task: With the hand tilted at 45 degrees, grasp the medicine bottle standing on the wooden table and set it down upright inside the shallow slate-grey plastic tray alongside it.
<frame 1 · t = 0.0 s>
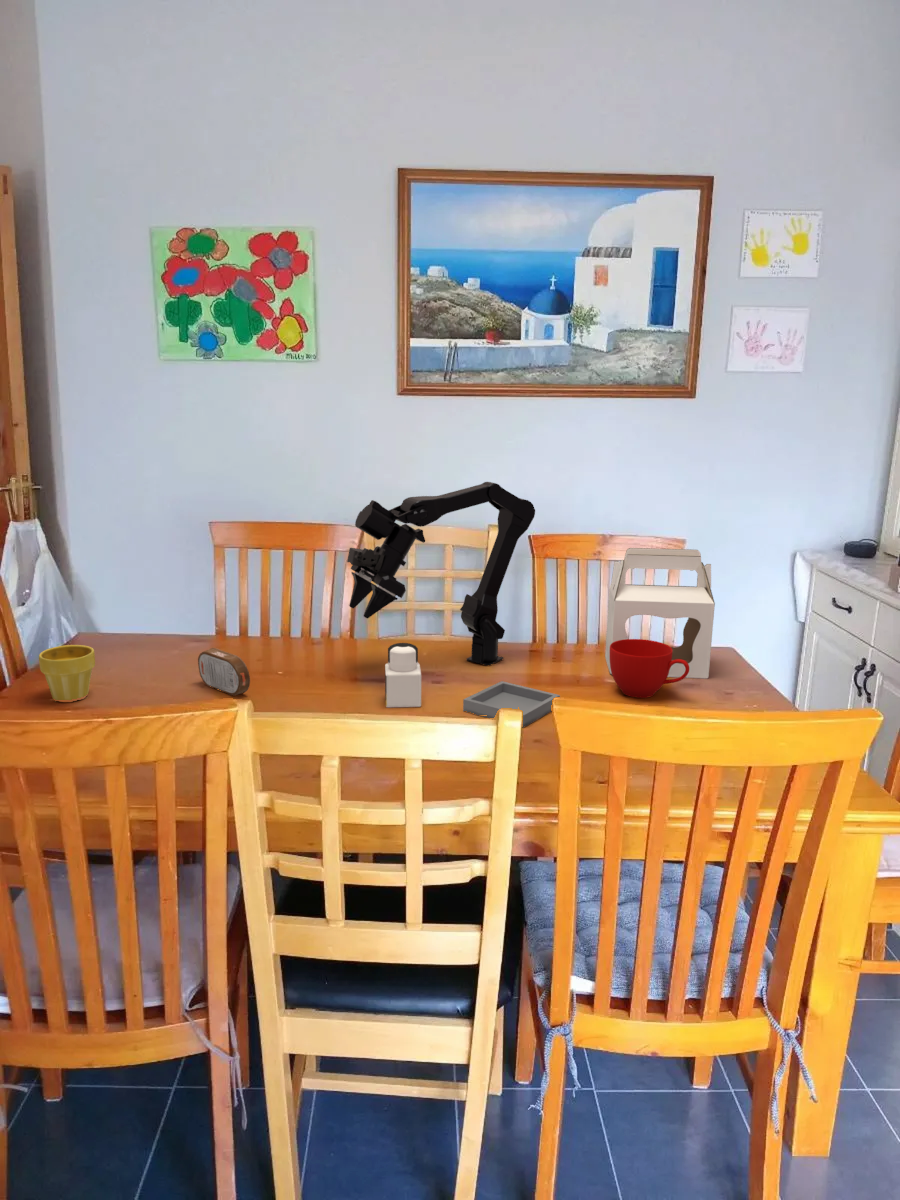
hand: (358, 612, 191), 15 cm above the table, tool tilted 35°, fingers open, 9 cm apart
plant pot: (71, 698, 181), on the table
gable box: (654, 668, 204), on the table
tin: (223, 691, 186), on the table
slate tray: (511, 709, 177), on the table
medicine bottle: (402, 702, 181), on the table
ceramic cup: (646, 695, 187), on the table
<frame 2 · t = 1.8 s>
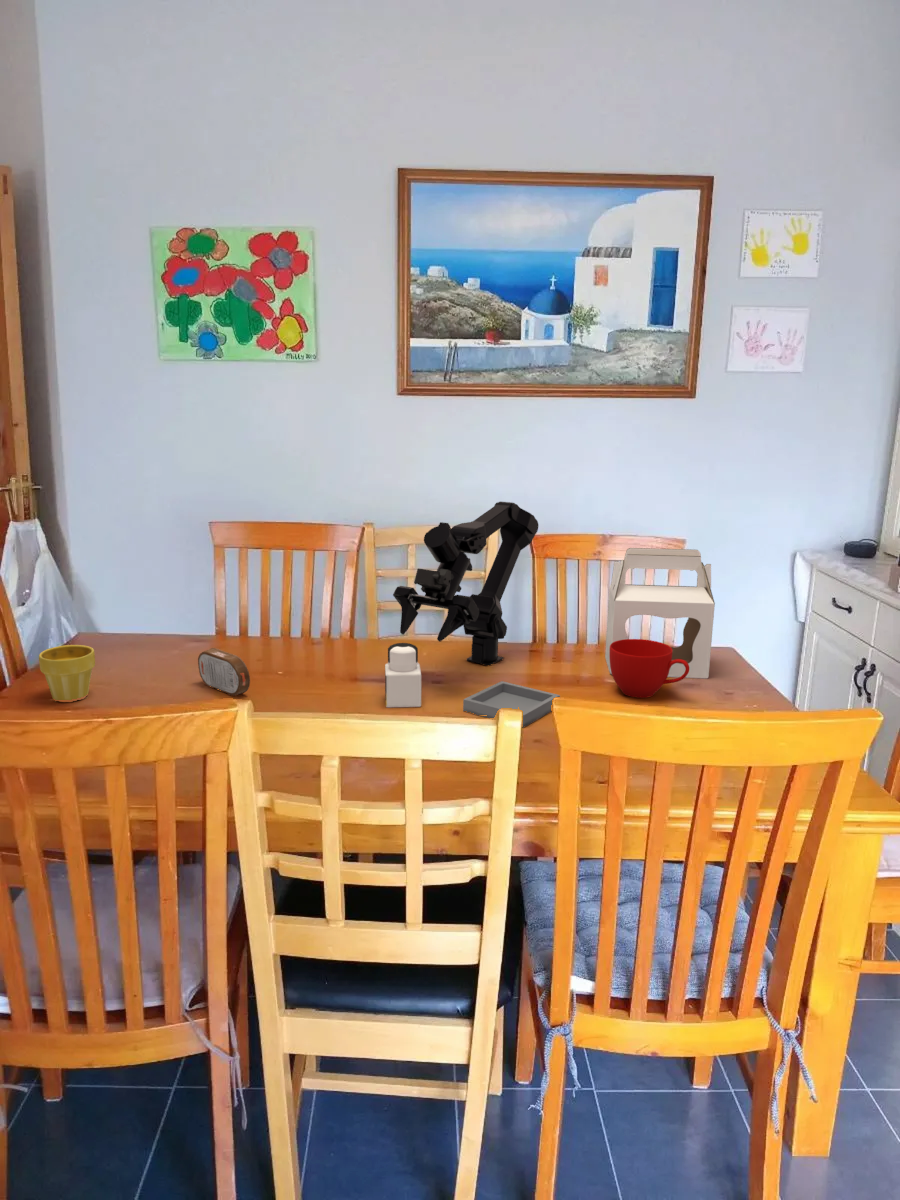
hand: (419, 636, 182), 12 cm above the table, tool tilted 45°, fingers open, 9 cm apart
nothing on the table moved.
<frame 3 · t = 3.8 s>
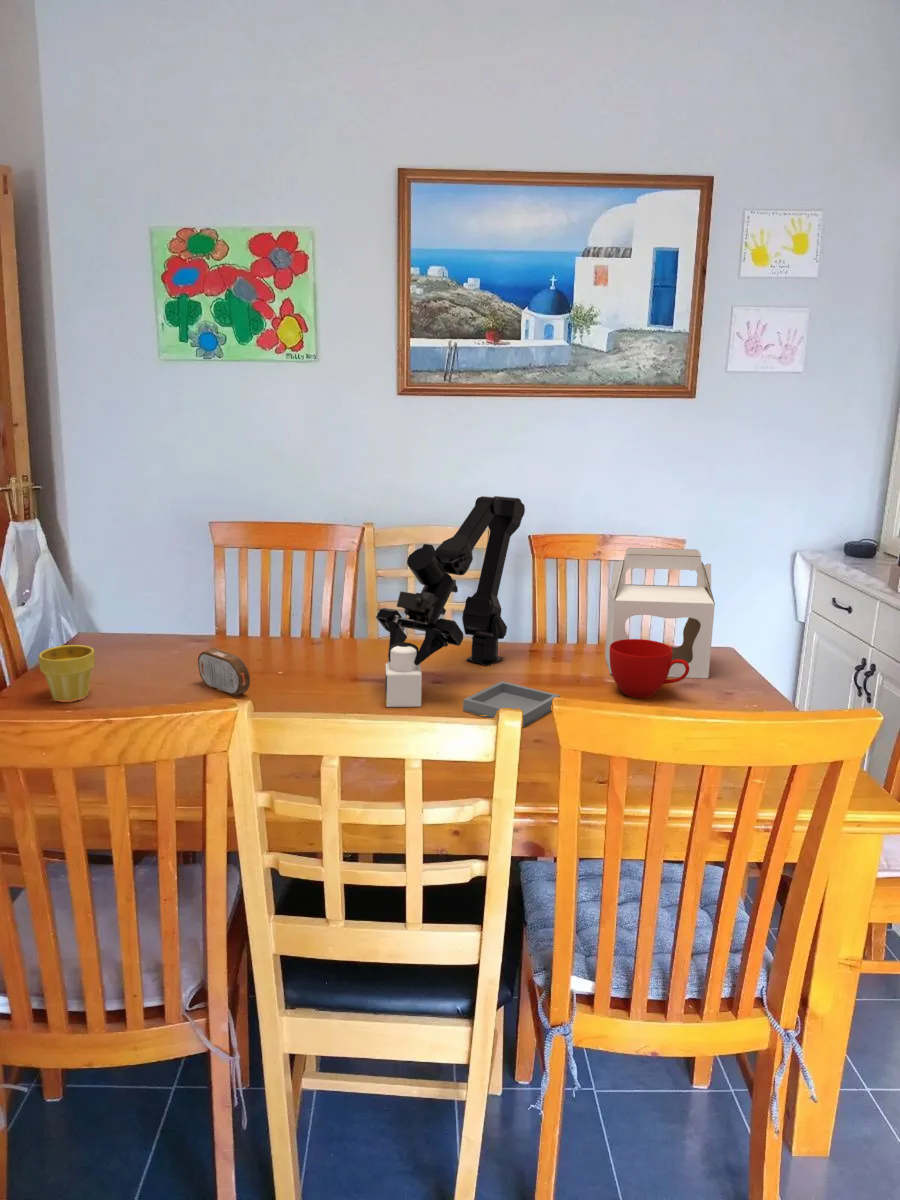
hand: (402, 661, 178), 9 cm above the table, tool tilted 45°, fingers closed on medicine bottle, 6 cm apart
medicine bottle: (402, 701, 181), on the table, touching gripper
everything else where it was.
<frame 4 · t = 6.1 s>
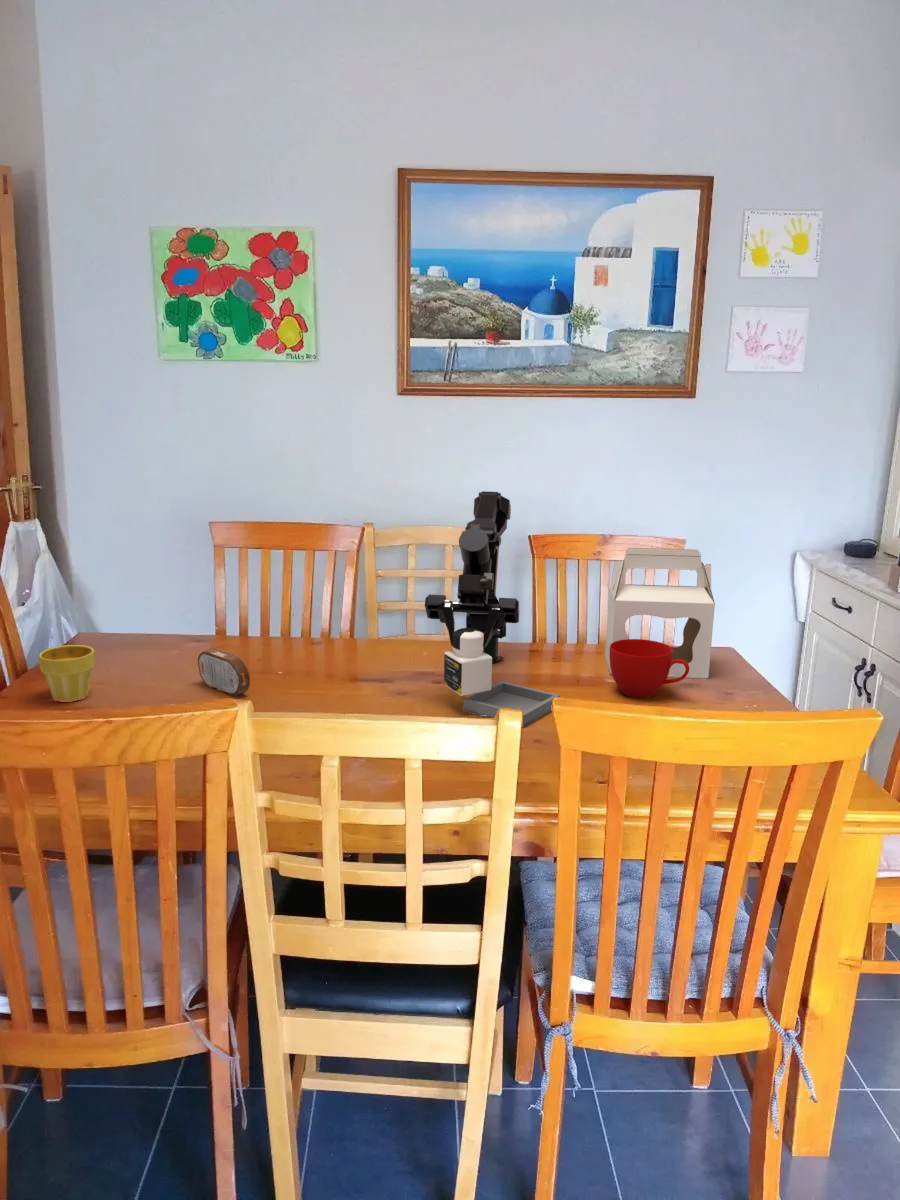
hand: (468, 645, 174), 13 cm above the table, tool tilted 45°, fingers closed on medicine bottle, 6 cm apart
medicine bottle: (467, 688, 176), point 4 cm above the table, touching gripper
everything else where it was.
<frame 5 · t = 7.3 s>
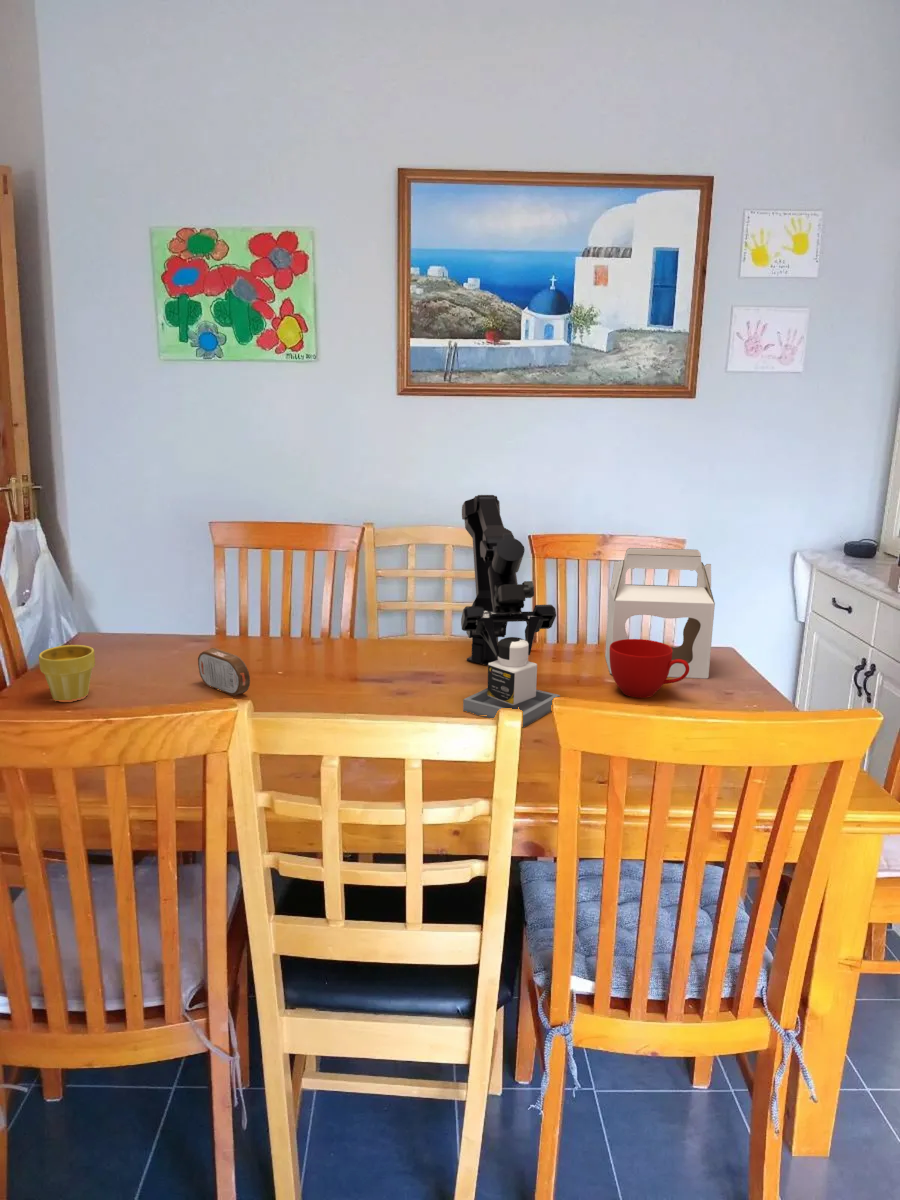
hand: (513, 655, 175), 11 cm above the table, tool tilted 45°, fingers closed on medicine bottle, 6 cm apart
medicine bottle: (511, 697, 177), point 2 cm above the table, touching gripper
everything else where it was.
when the fingers open (10 cm above the table, at t = 8.4 s): medicine bottle stays where it is, resting on slate tray.
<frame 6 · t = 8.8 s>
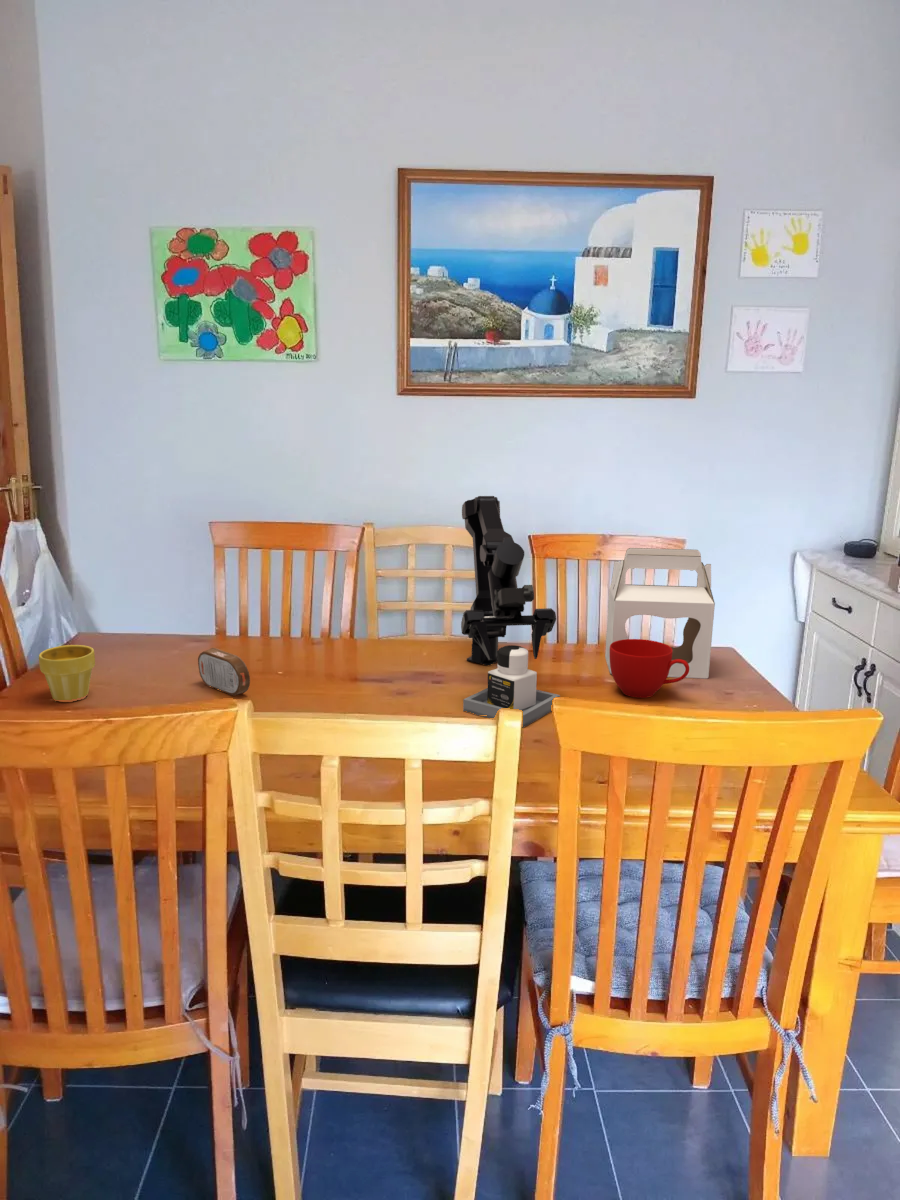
hand: (513, 658, 175), 11 cm above the table, tool tilted 45°, fingers open, 9 cm apart
medicine bottle: (511, 705, 178), resting on slate tray
everything else where it was.
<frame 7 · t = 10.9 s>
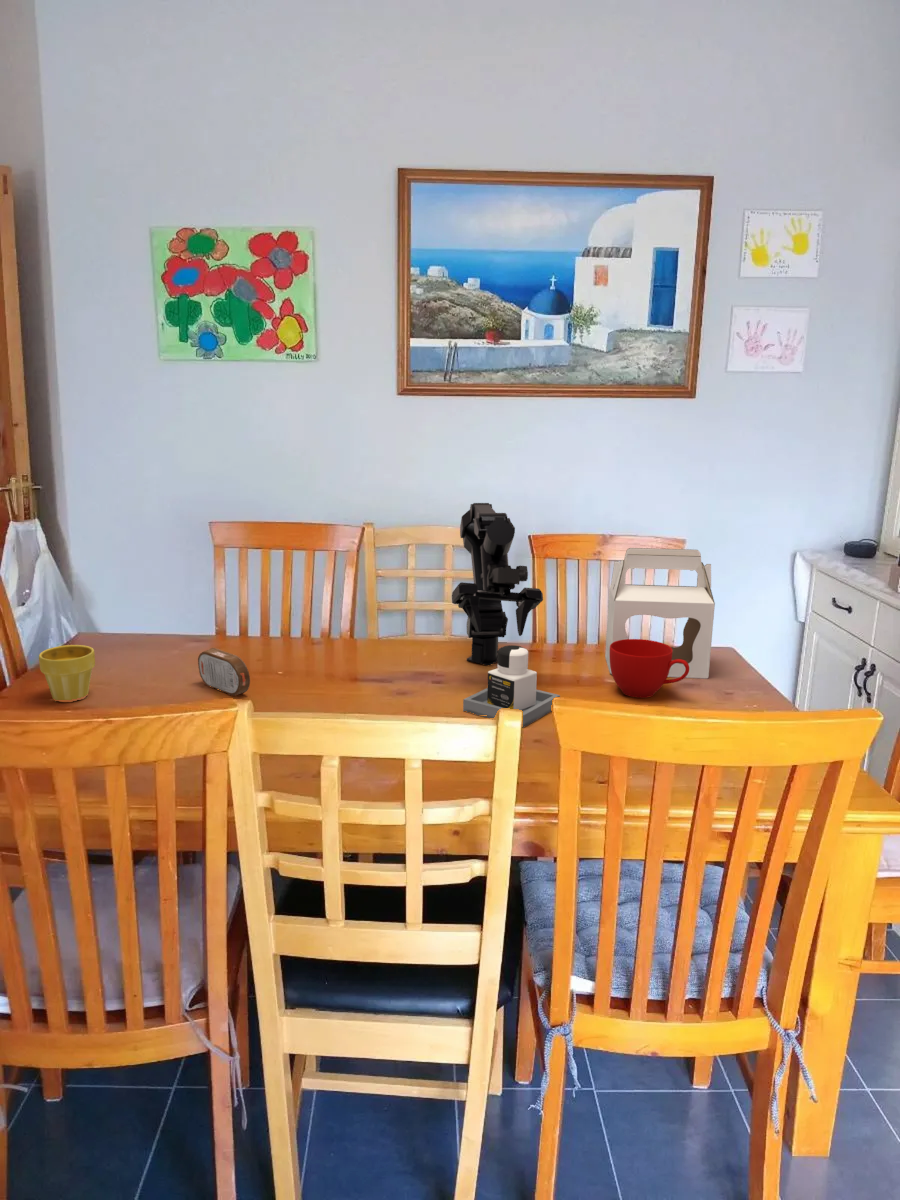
hand: (500, 633, 184), 13 cm above the table, tool tilted 35°, fingers open, 9 cm apart
nothing on the table moved.
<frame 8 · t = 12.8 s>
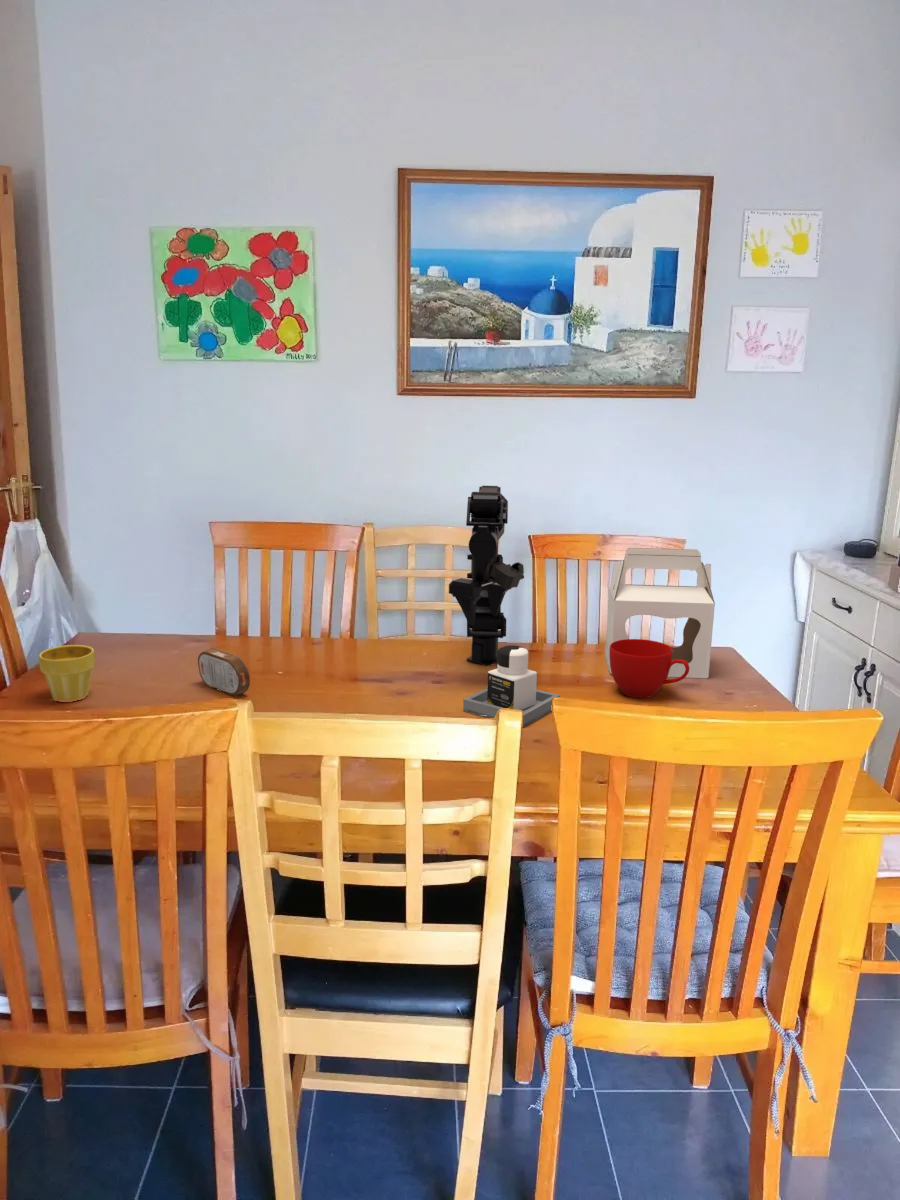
hand: (483, 620, 193), 13 cm above the table, tool pointing down, fingers open, 9 cm apart
nothing on the table moved.
at the end: medicine bottle inside the target area on the slate tray (0.6 cm from its centre), point 0.4 cm above the slate tray's base; medicine bottle tilted 0°; the gripper is holding nothing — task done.
